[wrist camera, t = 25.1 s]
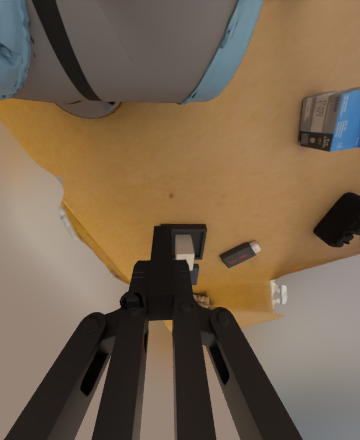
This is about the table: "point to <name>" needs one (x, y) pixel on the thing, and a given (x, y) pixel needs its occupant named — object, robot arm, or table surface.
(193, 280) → the switch block
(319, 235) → the film camera
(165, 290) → the robot arm
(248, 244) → the usb drive
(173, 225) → the cradle
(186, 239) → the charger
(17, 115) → the table surface
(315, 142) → the label tape box
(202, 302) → the mineral formation
